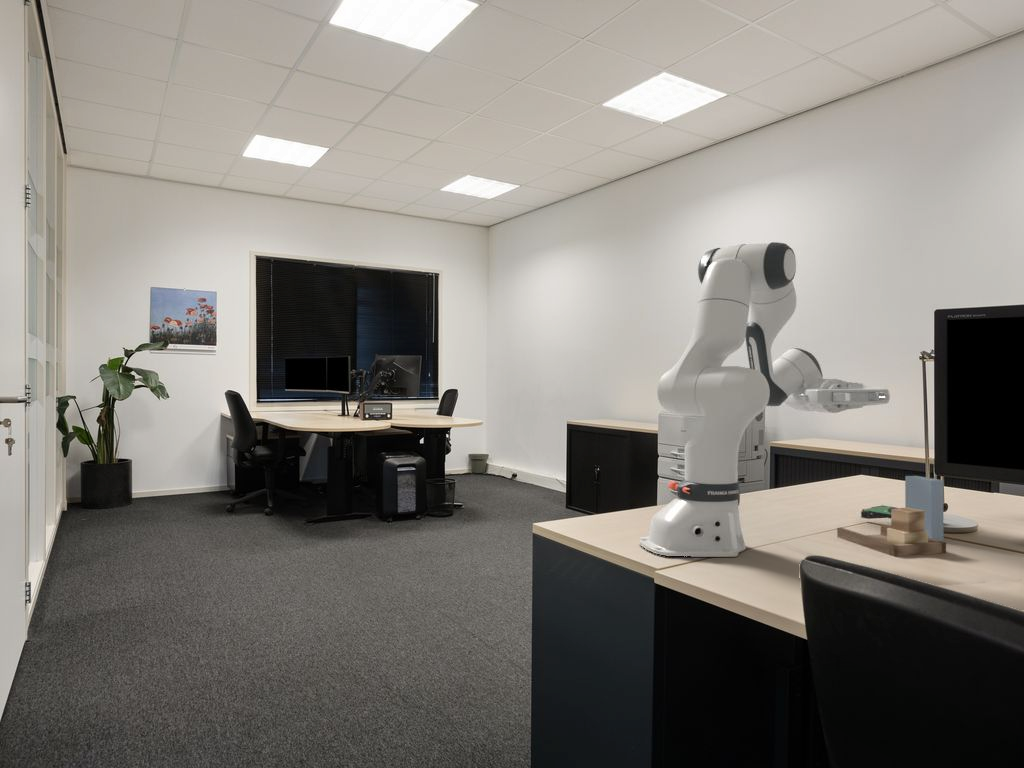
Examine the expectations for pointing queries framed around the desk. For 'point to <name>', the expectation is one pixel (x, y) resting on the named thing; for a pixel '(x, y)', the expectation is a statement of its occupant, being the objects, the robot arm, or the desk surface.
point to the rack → (883, 546)
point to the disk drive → (877, 512)
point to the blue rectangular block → (926, 502)
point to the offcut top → (908, 520)
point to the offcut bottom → (906, 537)
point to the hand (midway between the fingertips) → (869, 396)
